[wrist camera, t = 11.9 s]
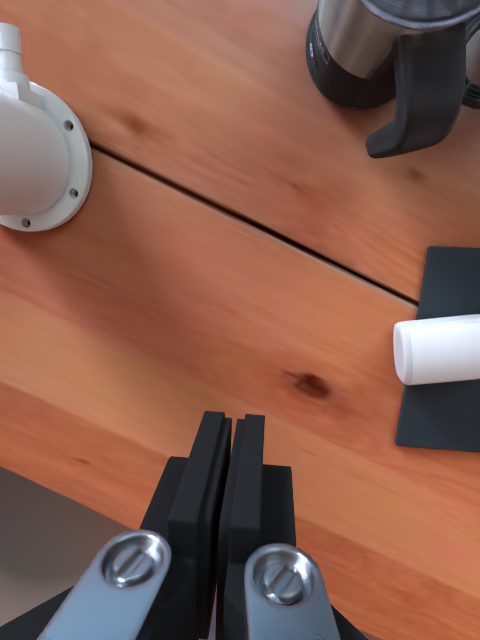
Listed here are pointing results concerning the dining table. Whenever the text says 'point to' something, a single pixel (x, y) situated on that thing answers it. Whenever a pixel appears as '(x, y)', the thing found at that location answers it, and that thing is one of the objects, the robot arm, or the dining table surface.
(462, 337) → the eye dropper bottle
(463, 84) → the milk frother
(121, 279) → the dining table surface
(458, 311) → the mat
